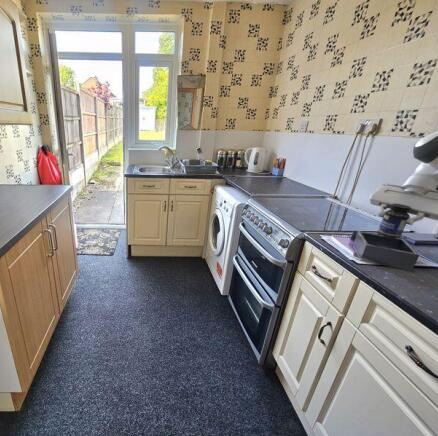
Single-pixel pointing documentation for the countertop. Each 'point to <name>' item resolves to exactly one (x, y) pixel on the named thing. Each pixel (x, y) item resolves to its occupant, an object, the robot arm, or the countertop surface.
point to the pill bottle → (394, 221)
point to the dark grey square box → (385, 251)
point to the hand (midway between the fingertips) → (394, 219)
